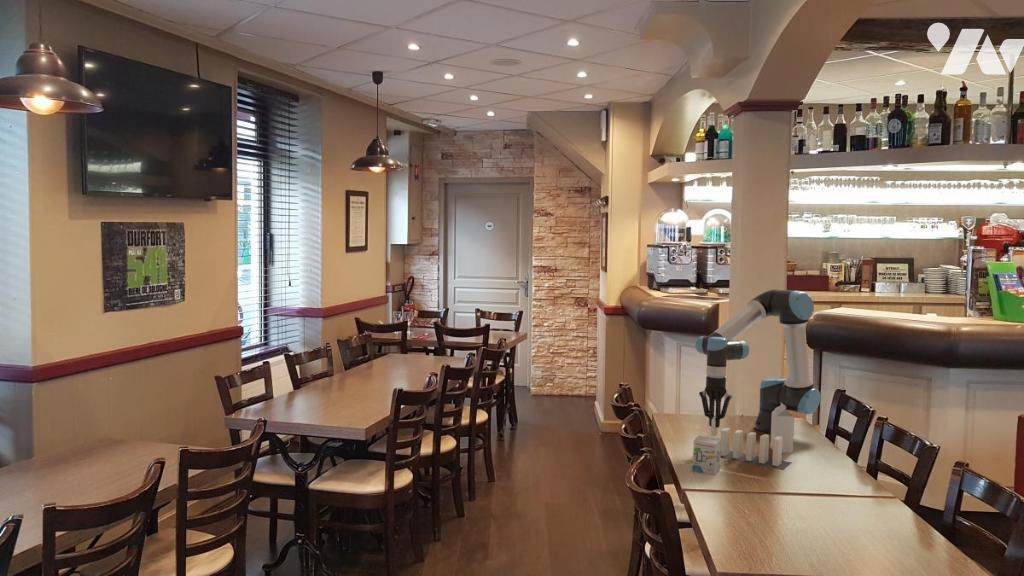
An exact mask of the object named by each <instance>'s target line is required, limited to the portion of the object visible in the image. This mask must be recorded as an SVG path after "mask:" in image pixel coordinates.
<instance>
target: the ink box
mask: <svg viewBox="0 0 1024 576" xmlns="http://www.w3.org/2000/svg"><path fill="white" fill-rule="evenodd" d="M692 452H693V453H692V469H691V471H692V472H695V473H701V474H707V475H713V476H716V475H717V473H718V472H720V469H721V458H720V456H721V438H718V437H711V436H705V435H704V436H703V435H698V436H697V437H696V438H695V439H694V440H693V451H692Z"/></svg>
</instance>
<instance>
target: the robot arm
mask: <svg viewBox="0 0 1024 576" xmlns="http://www.w3.org/2000/svg"><path fill="white" fill-rule="evenodd" d="M814 310H815V305H814V299H812V297H811V295H809V294H808V293H807V292H805V291H801V290H788V289H777V288H776V289H770V290H766V291H765V292H762V293H760V294H758V295H756V296H755V297H753V298H752V299H750V300H749V301H747V303H746V307H744V308H743V309H741V310H740V311H739V312H738V313H736V314H734V316H733V317H731V318H730V319H728V320H727V321H725V323H723V324H722V325H721V326H719V327H718V328H717V329H716V330H715V331H713V332H712V333H711V334H709V335H708V336H707V335H701V336H698V337H697V338H696V340H695V350H696V351H697V352H698V353H699V354H702V355H704V356H706V375H707V376H706V377H705V378H706V379H705V388H704V390H701V391H700V392H698V394H699V396H700V400H701V403H702V408H703V413H704V416H705V417H707V418H708V421H709V422H708V426H709V427H711V428H710V430H711V431H710V435H711V436H713V437H716V436H717V435H718V428H720V426H721V425H720V424H721V423H720V422H721V420H723V419H724V418H726V414H727V410H728V407H729V404H730V401H731V399H732V398H733V395H731V394H730V393H728V390H727V389H726V388H727V387H726V386H727V377H726V376H727V361H736V360H737V361H740V360H744V359H746V358H747V357H748V356H749V354H750V347H749V345H748V343H747V342H745V340H739V339H737V338H738V337H739V336H740V335H741V334H743V333H744V332H746V330H748V329H749V328H750V327H752V325H754V324H755V323H756V322H758V321H762V320H764V319H766V318H767V317H771V316H772V317H778V318H779V324H780V325H782V326H783V333H784V344H785V358H786V359H785V360H786V370H787V371H786V372H787V378H781V377H780V378H776V377H775V378H763V379H761V381H760V384H759V386H760V387H759V405H758V406H759V407H758V409H759V410H758V413H757V416H756V418H755V421H754V429H756V430H757V431H759V432H764V433H768V434H771V420H772V412H773V411H774V410H775V408H777V407H779V406H780V405H781V403H782V404H784V405H785V406H786V410H787V411H788V412H794V413H797V414H800V415H802V414H803V415H811V414H813V413H814V412H815V411H816V410H817V409H818V407H819V406H820V402H821V392H820V391H819V389H817V388H814V387H815V386H814V381H813V380H812V379H810V370H809V359H808V348H807V347H808V346H807V333H806V325H807V324H808V323H809V319H811V318H812V316H813V314H814ZM735 339H737V340H735ZM707 397H708V399H707ZM723 398H724V401H723V404H722V400H723ZM708 401H709V402H708ZM722 405H723V406H722ZM721 407H722V408H721Z"/></svg>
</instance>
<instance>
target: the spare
mask: <svg viewBox="0 0 1024 576" xmlns="http://www.w3.org/2000/svg"><path fill="white" fill-rule="evenodd" d="M720 439H721V456H726V455H728V454H729V452H730V451H731V450H730V446H731V428H729V427H724V428H722V429H721V430H720Z"/></svg>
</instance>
